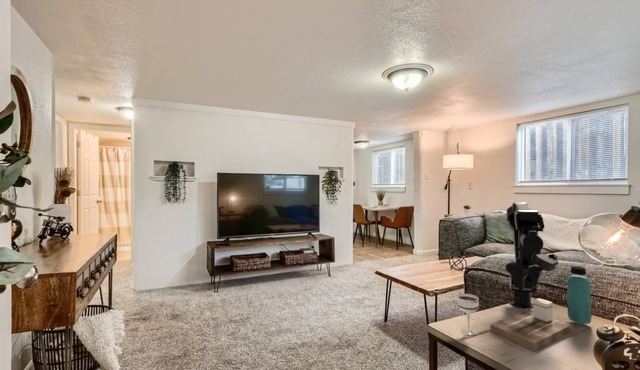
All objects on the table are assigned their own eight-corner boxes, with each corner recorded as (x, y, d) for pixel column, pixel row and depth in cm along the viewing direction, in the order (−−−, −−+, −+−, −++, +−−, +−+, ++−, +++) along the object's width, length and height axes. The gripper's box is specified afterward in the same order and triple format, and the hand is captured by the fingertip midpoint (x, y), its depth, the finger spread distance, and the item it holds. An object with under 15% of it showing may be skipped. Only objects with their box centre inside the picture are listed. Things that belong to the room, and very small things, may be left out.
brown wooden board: (528, 315, 117) (528, 308, 117) (573, 331, 105) (573, 323, 105) (490, 331, 107) (490, 324, 106) (534, 351, 94) (534, 342, 94)
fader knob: (538, 314, 112) (538, 297, 112) (552, 319, 108) (552, 302, 108) (533, 317, 110) (532, 300, 110) (547, 322, 106) (547, 304, 106)
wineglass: (484, 333, 105) (483, 298, 105) (471, 339, 102) (471, 302, 102) (465, 325, 111) (464, 292, 111) (453, 331, 108) (452, 296, 107)
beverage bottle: (596, 329, 106) (595, 270, 105) (573, 327, 107) (573, 269, 107) (584, 320, 112) (583, 264, 112) (563, 319, 114) (562, 264, 113)
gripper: (539, 254, 101) (539, 301, 102) (566, 245, 110) (567, 289, 111) (504, 247, 111) (504, 291, 111) (532, 240, 120) (532, 280, 121)
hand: (528, 288), depth 113 cm, fingers open, 9 cm apart
